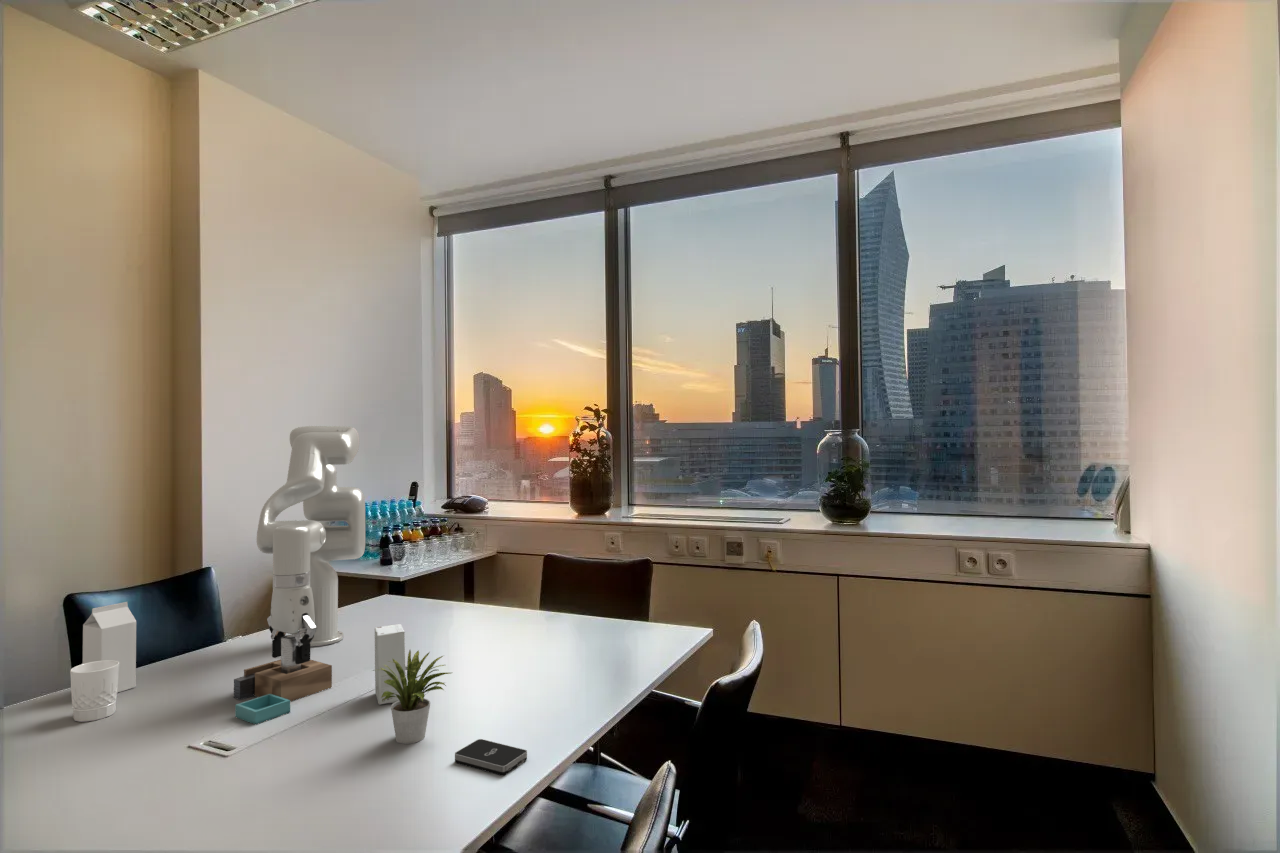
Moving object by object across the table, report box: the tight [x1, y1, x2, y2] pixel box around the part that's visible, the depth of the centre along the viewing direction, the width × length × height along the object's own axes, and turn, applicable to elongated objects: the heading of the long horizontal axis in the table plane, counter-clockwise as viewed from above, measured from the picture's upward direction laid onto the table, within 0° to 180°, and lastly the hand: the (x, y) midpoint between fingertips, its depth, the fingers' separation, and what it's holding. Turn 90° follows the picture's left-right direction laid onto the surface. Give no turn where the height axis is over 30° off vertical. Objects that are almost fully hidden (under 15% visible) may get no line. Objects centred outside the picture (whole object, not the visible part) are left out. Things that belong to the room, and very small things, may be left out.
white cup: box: [70, 660, 119, 723], centre depth 143 cm, size 8×8×10 cm
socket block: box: [243, 658, 333, 702], centre depth 157 cm, size 14×12×5 cm
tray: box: [234, 694, 291, 725], centre depth 143 cm, size 7×7×2 cm
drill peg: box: [280, 634, 301, 674], centre depth 156 cm, size 4×4×12 cm
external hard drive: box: [454, 738, 528, 777], centre depth 122 cm, size 7×11×2 cm, turn 63°
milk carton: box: [82, 601, 137, 693], centre depth 157 cm, size 7×7×19 cm
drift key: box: [233, 673, 255, 701], centre depth 155 cm, size 2×8×4 cm, turn 148°
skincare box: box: [374, 623, 407, 705], centre depth 153 cm, size 8×6×15 cm
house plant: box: [371, 649, 452, 745], centre depth 131 cm, size 14×14×16 cm
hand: (291, 658), depth 156 cm, fingers open, 8 cm apart
